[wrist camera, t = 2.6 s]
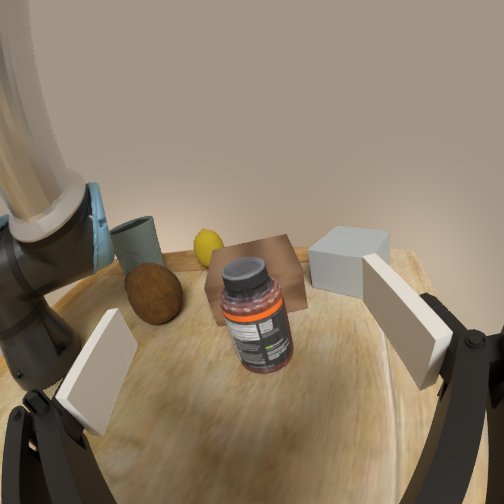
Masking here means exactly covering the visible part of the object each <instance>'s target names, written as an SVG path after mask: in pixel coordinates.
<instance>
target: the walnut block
mask: <svg viewBox="0 0 504 504" xmlns="http://www.w3.org/2000/svg"><path fill="white" fill-rule="evenodd" d="M244 257H258V258H261V259H263V260H264V261H265V264H266V268H267V271H268V275H270V276H272V277H274V278H275V279H276V280H277V281H278V282H279V283H280V285H281V288H282V291H283V296H284V301H285V306H286V311H287V313H288V312H293V311H297V310H301V309H306V308H308V307H307V299H306V292H305V284H304V277H303V270H302V267H301V264H300V262H299V260H298V258H297V256H296V254H295V251H294V249H293V247H292V245H291V243H290V241H289V239H288V236H287V234H284V235H280V236H275V237H270V238H266V239H261V240H256V241H252V242H247V243H242V244H238V245H233V246H229V247H224V248H220V249H215V250H213V251H212V255H211V260H210V264H209V269H208V273H207V278H206V283H205V287H204V289H205V292H206V295H207V298H208V301H209V303H210V306H211V309H212V312H213V315H214V317H215V320H216V323H217V325H218V326H222V325H227V323H226V321H225V318H224V315H223V312H222V309H221V306H220V294H221V292H222V290H223V289H224V287H225V286H224V282H223V279H222V275H221V272H222V269H223V268H224V267H225V266H226V265H227V264H228V263H230V262H232V261H234V260H237V259H240V258H244Z"/></svg>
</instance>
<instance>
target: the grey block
mask: <svg viewBox="0 0 504 504" xmlns="http://www.w3.org/2000/svg"><path fill="white" fill-rule="evenodd" d="M373 253H376V254H377V255H378V256H379V257H380V258H381V259H382V260H383V261H384V262H385V263H386V264H387V265H389V266H390V231H383V230H373V229H364V228H353V227H344V226H336V227H335V228H334V229H332V230H331V231H330V232H329V233H328V234H327V235H325V236H324V237H323V238H322V239H320V240H319V241H318V242H317V243H316V244H314V245H313V246H312V247H311V248H309V249H308V254H309V262H310V269H311V277H312V285H313V287H314V288H318V289H322V290H327V291H331V292H335V293H340V294H344V295H348V296H353V297H357V298H362V299H363V269H362V256H365V255H369V254H373Z"/></svg>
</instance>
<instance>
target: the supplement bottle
mask: <svg viewBox="0 0 504 504" xmlns="http://www.w3.org/2000/svg"><path fill="white" fill-rule="evenodd" d="M221 275H222V279H223V282H224V286H225V287H224V289H223V290H222V292H221V294H220V306H221V309H222V312H223V315H224V318H225V321H226V323H227V326H228V329H229V332H230V334H231V337H232V340H233V342H234V345H235V348H236V350H237V353H238V356H239V358H240V360H241V362H242V364H243V365H244V367H245V368H246V369H248V370H250V371H252V372H255V373H270V372H274V371H277V370H279V369H281V368H282V367H284V366H285V365H286V364H287V363H288V362H289V361H290V359H291V357H292V355H293V342H292V337H291V332H290V326H289V321H288V316H287V311H286V306H285V301H284V296H283V291H282V288H281V285H280V283H279V282H278V281H277V280H276V279H275V278H274V277H272V276H270V275H268V271H267V268H266V264H265V261H264V260H263V259H261V258H258V257H244V258H240V259H237V260H234V261H232V262H230V263H228V264H227V265H226V266H225V267H224V268H223V269H222V272H221Z"/></svg>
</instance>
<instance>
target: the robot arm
mask: <svg viewBox="0 0 504 504" xmlns="http://www.w3.org/2000/svg"><path fill="white" fill-rule="evenodd" d="M0 195H1V197H2V199H3V200H4V202H5V204H6V205H7V207H8V208H9V210H10V215H8V214H5V215H3V216H1V217H0V347H1V350H2V352H3V355H4V358H5V360H6V363H7V365H8V368H9V370H10V373H11V375H12V377H13V378H14V380H15V381H16V382H17V383H18V385H19V386H20V387H21V388H22V389H23V390H25V391H28V392H27V393H26V395H25V396H24V398H23V404H24V405H25V406H26V407H27V408H28V410H29V411H30V412H28V411H27V410H26V409H25V408H24V407H23V406H17V407H15V408H14V409H12V411H11V413H10V415H9V419H8V424H7V430H6V436H5V444H4V452H3V463H2V483H1V498H2V504H117V503H116V501H115V499H114V497H113V496H112V494H111V492H110V490H109V488H108V486H107V484H106V482H105V480H104V478H103V476H102V473H101V471H100V469H99V467H98V465H97V462H96V460H95V458H94V455H93V453H92V450H91V448H90V445H89V442H88V440H87V437H86V436H85V435H84V434H83V433H82V432H83V430H84V428H85V429H86V430H87V431H88V432H89V433H90V434H91V435H95V436H101V437H104V435H105V432H106V429H107V426H108V423H109V421H110V418H111V415H112V412H113V409H114V406H115V404H116V401H117V398H118V396H119V393H120V390H121V388H122V385H123V382H124V380H125V377H126V375H127V372H128V370H129V367H130V365H131V362H132V360H133V357H134V355H135V353H136V350H137V348H138V344H137V342H136V340H135V339H134V337H133V335H132V333H131V331H130V330H129V328H128V326H127V324H126V322H125V320H124V318H123V316H122V315H121V313H120V311H119V309H118V308H115V309H109V310H107V311H106V313H105V314H104V316H103V317H102V319H101V321H100V322H99V324H98V325H97V327H96V328H95V330H94V331H93V333H92V335H91V336H90V338H89V339H88V341H87V342H86V344H85V346H84V347H83V349H82V351H81V352H80V346H81V344H80V340H79V338H78V336H77V335H76V333H75V331H74V330H73V329H72V327H71V326H70V325H68V324H67V323H66V322H65V321H64V320H63V319H62V318H61V317H60V316H59V315H58V314H57V313H56V312H55V311H54V310H53V309H52V308H51V307H50V306H49V305H48V303H47V302H46V300H45V298H44V295H46V294H48V293H50V292H52V291H55V290H57V289H59V288H62V287H64V286H66V285H69V284H71V283H73V282H76V281H78V280H80V279H83V278H85V277H88V276H90V275H94V274H95V273H96V272H97V271H99V270H101V269H103V268H105V267H107V266H109V265H110V264H111V263H112V262H113V260H114V256H115V253H114V248H113V245H112V241H111V237H110V233H109V229H108V225H107V221H106V217H105V212H104V208H103V203H102V198H101V193H100V188H99V185H98V183H96V182H94V183H90V182H89V183H87V184H85V181H84V179H83V177H82V175H81V174H80V173H79V172H77V171H75V170H72V169H67V168H66V166H65V164H64V161H63V158H62V155H61V153H60V150H59V147H58V144H57V141H56V138H55V135H54V133H53V129H52V126H51V123H50V120H49V116H48V113H47V109H46V106H45V102H44V98H43V94H42V90H41V86H40V82H39V77H38V72H37V67H36V62H35V56H34V50H33V43H32V36H31V26H30V16H29V0H0ZM362 269H363V302H364V303H365V305H366V306H367V308H368V309H369V311H370V312H371V314H372V315H373V317H374V318H375V320H376V321H377V323H378V324H379V326H380V327H381V329H382V330H383V332H384V333H385V335H386V336H387V338H388V339H389V341H390V343H391V344H392V346H393V347H394V349H395V350H396V352H397V354H398V355H399V357H400V358H401V360H402V362H403V363H404V365H405V367H406V368H407V370H408V371H409V373H410V375H411V376H412V378H413V380H414V382H415V383H416V385H417V387H418V388H419V390H420V391H421V390H423V389H425V388H427V387H429V386H431V385H433V384H435V383H436V381H437V378H438V376H439V374H440V376H441V377H442V379H443V380H444V381H443V383H442V385H441V388H440V390H439V392H438V394H437V396H439V399H438V403H437V407H436V411H435V414H434V418H433V421H432V424H431V428H430V431H429V434H428V437H427V440H426V443H425V446H424V448H423V451H422V454H421V457H420V459H419V462H418V464H417V467H416V469H415V471H414V474H413V476H412V478H411V480H410V483H409V485H408V487H407V489H406V491H405V493H404V495H403V497H402V499H401V501H400V503H399V504H462V502H463V499H464V497H465V494H466V491H467V488H468V485H469V482H470V479H471V476H472V473H473V469H474V465H475V462H476V458H477V454H478V450H479V445H480V440H481V435H482V430H483V424H484V418H485V411H486V412H487V422H488V443H489V464H488V483H487V494H486V502H485V504H504V326H503V329H502V331H501V333H499V334H494V335H490V336H486V335H485V334H484V333H482V332H480V331H478V330H475V329H473V330H467V329H466V328H465V327H464V326H463V325H462V323H461V322H460V321H459V320H458V319H457V318H456V317H455V316H454V315H453V314H452V313H451V312H450V311H448V309H447V308H446V307H445V306H444V305H442V303H441V302H440V301H439V300H438V299H437V298H436V297H434V296H432V295H430V294H428V293H423V294H421V295H418V294H417V293H416V292H415V291H414V290H413V289H412V288H411V287H410V286H409V285H408V284H407V283H406V282H405V281H404V280H403V279H402V278H401V277H400V276H399V275H398V274H397V273H396V272H395V271H394V270H393V269H392V268H391V267H390V266H389V265H387V264H386V263H385V262H384V261H383V260H382V259H381V258H380V257H379V256H378V255H377V254H376V253H373V254H369V255H365V256H362ZM79 352H80V354H79ZM78 354H79V356H78ZM65 374H66V375H65ZM64 375H65V376H64ZM63 376H64V378H63V379H62V380H63V381H61V383H60V385H59V386H58V388H57V390H56V392H55V394H54V396H53V398H52V399H51V400H50V399H49V398H48V397H47V396H46V394H45V393H44V392H43V391H42V389H45V388H47V387H49V386H51V385H52V384H54V383H55V382H57V381H58V380H59V379H60V378H61V377H63ZM29 442H30V443H31V444H33V445H34V446H35V447H36V450H35V451H34V450H33V449H31V448H30V447H29Z"/></svg>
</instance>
